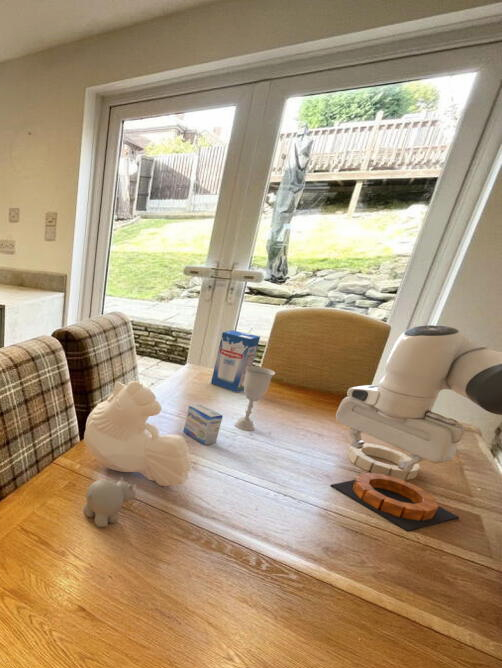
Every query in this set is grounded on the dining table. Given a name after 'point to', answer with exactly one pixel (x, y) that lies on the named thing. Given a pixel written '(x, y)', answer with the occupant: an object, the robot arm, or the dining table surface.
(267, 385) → the chalice
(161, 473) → the decorative rooster
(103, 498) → the toy rhinoceros
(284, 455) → the dining table surface
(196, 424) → the medicine box
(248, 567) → the dining table surface
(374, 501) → the top ring
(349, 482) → the mat
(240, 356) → the milk carton
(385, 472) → the bottom ring
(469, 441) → the dining table surface
